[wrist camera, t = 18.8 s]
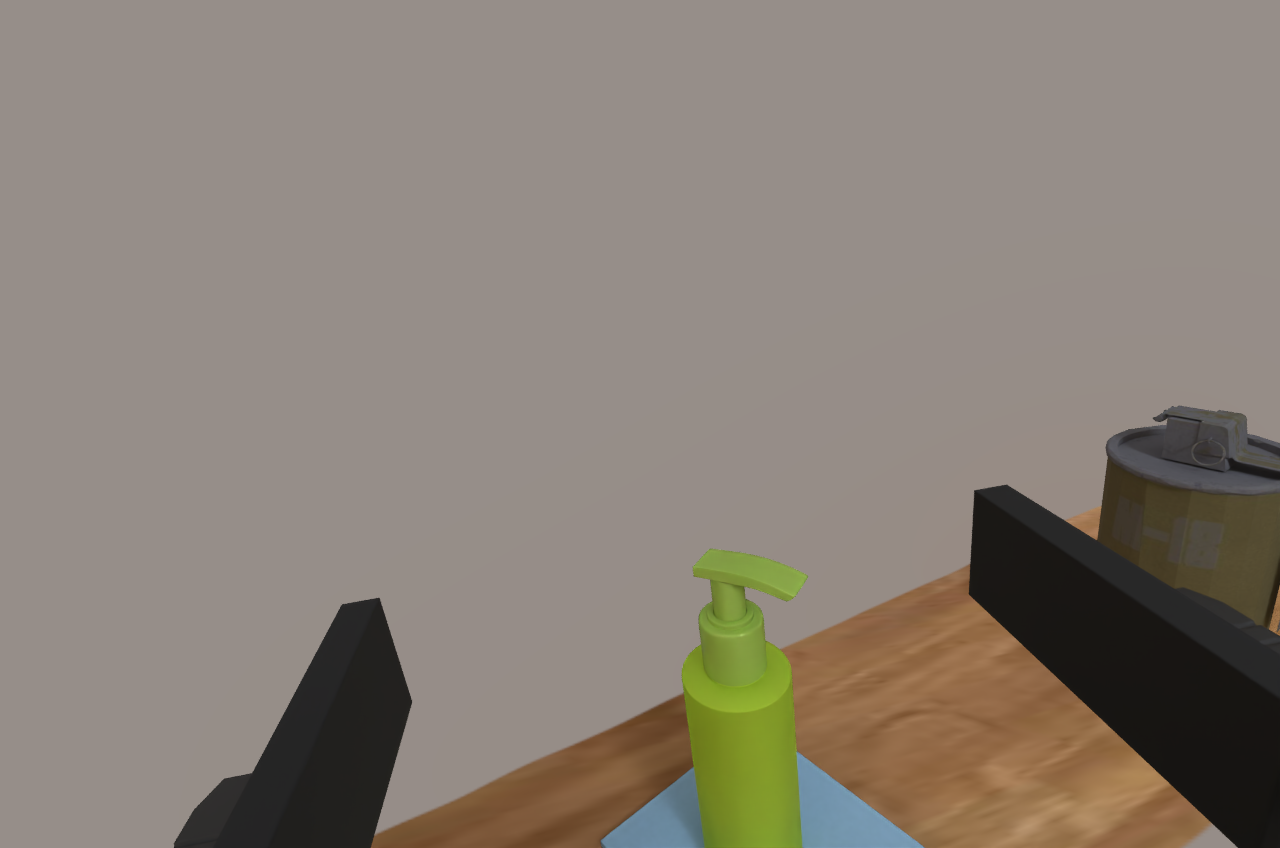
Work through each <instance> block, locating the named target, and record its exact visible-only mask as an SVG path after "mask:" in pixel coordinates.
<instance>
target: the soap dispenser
mask: <svg viewBox="0 0 1280 848" xmlns="http://www.w3.org/2000/svg"><path fill="white" fill-rule="evenodd" d="M693 574H694V577H699V578H705V579H710V582H711V592H712V602H710V603H708V604H707V605H706V606H705V607H704V608H703V609H702V610H701V612H700V614H699V630H700V638H701V645H699V646H698V647H696V648H695V649H694V650H693V651H692V652H691V653H690V654H689V655H688V657H687V658H686V660H685V662H684V664H683V668H682V682H683V690H684V697H685V705H686V712H687V720H688V727H689V735H690V742H691V749H692V757H693V764H694V772H695V779H696V787H697V794H698V802H699V809H700V816H701V824H702V831H703V839H704V846H705V848H802V832H801V816H800V799H799V783H798V767H797V751H796V734H795V718H794V702H793V686H792V671H791V666H790V663H789V661H788V659H787V657H786V656H785V655H784V653H783V652H782V651H781V650H780V649H779V648H777V647H776V646H775V645H773V644H771V643H770V642H767V641H765V631H764V618H763V614H762V611H761V609H760V608H759V607H758V606H757V605H756V604H755V603H753V602H751V601H749V600H747V599H745V589H744V587H748V588H752V589H756V590H759V591H762V592H765V593H767V594H770V595H772V596H775V597H777V598H779V599H782V600H784V601H789V600H791V599H793V598H794V597H795V596H796V595H797V593H798V592H799V590H800V589H801V587H802V586H803V584H804V583H805V581H806V580H807V578H808V576H807V575H806V574H804V573H802V572H800V571H798V570H796V569H794V568H791V567H789V566H787V565H784V564H781V563H779V562H776V561H773V560H770V559H767V558H763V557H759V556H755V555H751V554H746V553H740V552H732V551H725V550H717V549H709V550H708V551H707V552H706V553H705V554H704V555H703V556H702V558H701V559H700V560H699V561H698V562H697V563H696V564H695V565H694V566H693Z"/></svg>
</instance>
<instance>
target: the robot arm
mask: <svg viewBox="0 0 1280 848" xmlns="http://www.w3.org/2000/svg"><path fill="white" fill-rule="evenodd" d="M969 595H970V596H971V597H972V598H973V599H974V600H975V601H976V602H978V603H979V604H980V605H981V606H982V607H983V608H984V609H985V610H986V611H987V612H988V613H989V614H990V615H991V616H992V617H993V618H995V619H996V620H997V621H998V622H999V623H1000V624H1001V625H1002V626H1003V627H1004V628H1005V629H1006V630H1007V631H1008V632H1009V633H1010V634H1012V635H1013V636H1014V637H1015V638H1016V639H1017V640H1018V641H1019V642H1020V643H1021V644H1022V645H1023V646H1024V647H1025V648H1026V649H1027V650H1029V651H1030V652H1031V653H1032V654H1033V655H1034V656H1035V657H1036V658H1037V659H1038V660H1039V661H1040V662H1041V663H1042V664H1043V665H1044V666H1046V667H1047V668H1048V669H1049V670H1050V671H1051V672H1052V673H1053V674H1054V675H1055V676H1056V677H1057V678H1058V679H1059V680H1060V681H1061V682H1062V683H1064V684H1065V685H1066V686H1067V687H1068V688H1069V689H1070V690H1071V691H1072V692H1073V693H1074V694H1075V695H1076V696H1077V697H1078V698H1079V699H1081V700H1082V701H1083V702H1084V703H1085V704H1086V705H1087V706H1088V707H1089V708H1090V709H1091V710H1092V711H1093V712H1094V713H1095V714H1096V715H1098V716H1099V717H1100V718H1101V719H1102V720H1103V721H1104V722H1105V723H1106V724H1107V725H1108V726H1109V727H1110V728H1111V729H1112V730H1113V731H1115V732H1116V733H1117V734H1118V735H1119V736H1120V737H1121V738H1122V739H1123V740H1124V741H1125V742H1126V743H1127V744H1128V745H1129V746H1130V747H1132V748H1133V749H1134V750H1135V751H1136V752H1137V753H1138V754H1139V755H1140V756H1141V757H1142V758H1143V759H1144V760H1145V761H1146V762H1147V763H1149V764H1150V765H1151V766H1152V767H1153V768H1154V769H1155V770H1156V771H1157V772H1158V773H1159V774H1160V775H1161V776H1162V777H1163V778H1164V779H1166V780H1167V781H1168V782H1169V783H1170V784H1171V785H1172V786H1173V787H1174V788H1175V789H1176V790H1177V791H1178V792H1179V793H1180V794H1181V795H1183V796H1184V797H1185V798H1186V799H1187V800H1188V801H1189V802H1190V803H1191V804H1192V805H1193V806H1194V807H1195V808H1196V809H1197V810H1198V811H1199V812H1201V813H1202V814H1203V815H1204V816H1205V817H1206V818H1207V819H1208V820H1209V821H1210V822H1211V823H1212V824H1213V825H1214V826H1215V827H1216V828H1218V829H1219V830H1220V831H1221V832H1222V833H1223V834H1224V835H1225V836H1226V837H1227V838H1228V839H1229V840H1230V841H1231V842H1233V843H1234V844H1235V845H1236V846H1237V847H1238V848H1280V636H1279V635H1277V634H1275V633H1274V632H1272V631H1270V630H1269V629H1267V628H1265V627H1264V626H1262V625H1258V626H1257V625H1256V624H1255V622H1254V621H1253V620H1252V619H1250V618H1248V617H1247V616H1245V615H1243V614H1242V613H1240V612H1238V611H1237V610H1235V609H1233V608H1232V607H1230V606H1228V605H1227V604H1225V603H1223V602H1221V601H1219V600H1216V599H1213V598H1211V597H1208V596H1206V595H1203V594H1200V593H1198V592H1195V591H1192V590H1190V589H1187V588H1184V587H1182V588H1177V589H1174V588H1172V587H1171V586H1169V585H1168V584H1166V583H1164V582H1163V581H1161V580H1159V579H1158V578H1156V577H1155V576H1153V575H1151V574H1150V573H1148V572H1147V571H1145V570H1143V569H1142V568H1140V567H1138V566H1137V565H1135V564H1134V563H1132V562H1130V561H1129V560H1127V559H1126V558H1124V557H1122V556H1121V555H1119V554H1118V553H1116V552H1114V551H1113V550H1111V549H1109V548H1108V547H1106V546H1105V545H1103V544H1101V543H1100V542H1098V541H1097V540H1095V539H1093V538H1092V537H1090V536H1089V535H1087V534H1085V533H1084V532H1082V531H1080V530H1079V529H1077V528H1076V527H1074V526H1072V525H1071V524H1069V523H1068V522H1066V521H1064V520H1063V519H1061V518H1059V517H1058V516H1056V515H1054V514H1053V513H1051V512H1050V511H1048V510H1047V509H1045V508H1043V507H1042V506H1040V505H1039V504H1037V503H1035V502H1034V501H1032V500H1030V499H1029V498H1027V497H1026V496H1024V495H1022V494H1021V493H1019V492H1018V491H1016V490H1014V489H1013V488H1011V487H1009V486H1008V485H1002V486H997V487H991V488H986V489H980V490H975V491H974V508H973V527H972V545H971V563H970V582H969ZM411 704H412V700H411V696H410V693H409V690H408V687H407V684H406V681H405V677H404V674H403V671H402V668H401V665H400V662H399V658H398V655H397V652H396V649H395V646H394V643H393V639H392V636H391V633H390V630H389V627H388V624H387V620H386V617H385V614H384V611H383V608H382V605H381V602H380V598H376V599H370V600H364V601H359V602H353V603H348V604H342V606H341V607H340V609H339V611H338V613H337V615H336V617H335V619H334V620H333V622H332V624H331V626H330V628H329V630H328V632H327V634H326V635H325V637H324V639H323V641H322V643H321V645H320V647H319V649H318V651H317V652H316V654H315V656H314V658H313V660H312V662H311V664H310V666H309V667H308V669H307V671H306V673H305V675H304V677H303V679H302V681H301V683H300V684H299V686H298V688H297V690H296V692H295V694H294V696H293V698H292V699H291V701H290V703H289V705H288V707H287V709H286V711H285V713H284V715H283V717H282V718H281V720H280V722H279V724H278V726H277V728H276V730H275V732H274V733H273V735H272V737H271V739H270V741H269V743H268V745H267V747H266V748H265V750H264V752H263V754H262V756H261V758H260V760H259V762H258V764H257V765H256V767H255V769H254V771H253V773H251V774H246V775H241V776H236V777H231V778H226V779H224V780H223V781H222V782H221V783H220V784H219V785H218V786H217V787H216V788H215V789H214V790H213V791H212V792H211V793H210V794H209V795H208V796H207V797H206V798H205V799H204V800H203V801H202V802H201V803H200V804H199V805H198V806H197V808H195V809H194V811H193V812H192V814H191V816H190V818H189V819H188V821H187V822H186V824H185V826H184V828H183V829H182V831H181V833H180V834H179V836H178V838H177V839H176V841H175V843H174V848H371V844H372V841H373V837H374V834H375V830H376V827H377V823H378V820H379V816H380V813H381V809H382V806H383V802H384V799H385V795H386V792H387V788H388V784H389V781H390V778H391V774H392V771H393V767H394V764H395V760H396V757H397V753H398V750H399V746H400V743H401V739H402V736H403V732H404V729H405V725H406V721H407V718H408V714H409V711H410V708H411Z"/></svg>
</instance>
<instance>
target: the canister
mask: <svg viewBox="0 0 1280 848" xmlns="http://www.w3.org/2000/svg"><path fill="white" fill-rule="evenodd" d="M1167 418H1168V420H1167V425H1160V426H1152V427H1144V428H1137V429H1129V430H1126V431H1124V432H1121V433H1119V434H1116V435H1114V436H1113V437H1112V438H1110V439H1109V440H1108V441H1107V444H1106V453H1107V456H1108V460H1107V468H1106V476H1105V484H1104V492H1103V500H1102V508H1101V516H1100V524H1099V532H1098V540H1097V541H1098V542H1100V543H1101V544H1103V545H1105V546H1106V547H1108V548H1109V549H1111V550H1113V551H1114V552H1116V553H1118V554H1119V555H1121V556H1122V557H1124V558H1126V559H1127V560H1129V561H1130V562H1132V563H1134V564H1135V565H1137V566H1138V567H1140V568H1142V569H1143V570H1145V571H1147V572H1148V573H1150V574H1151V575H1153V576H1155V577H1156V578H1158V579H1159V580H1161V581H1163V582H1164V583H1166V584H1168V585H1169V586H1171V587H1172V588H1174V589H1177V588H1182V587H1184V588H1187V589H1190V590H1192V591H1195V592H1198V593H1200V594H1203V595H1206V596H1208V597H1211V598H1213V599H1216V600H1219V601H1221V602H1223V603H1225V604H1227V605H1228V606H1230V607H1232V608H1233V609H1235V610H1237V611H1238V612H1240V613H1242V614H1243V615H1245V616H1247V617H1248V618H1250V619H1252V620H1253V621H1254V622H1255V624H1256V625H1257V626H1258V625H1262V626H1264V627H1265V628H1267V629H1269V627H1270V623H1271V618H1272V614H1273V610H1274V606H1275V602H1276V598H1277V594H1278V590H1279V585H1280V443H1277V442H1274V441H1271V440H1268V439H1264V438H1261V437H1258V436H1255V435H1250V434H1247V418H1246V416H1245V415H1243V414H1241V413H1234V412H1228V411H1221V410H1219V411H1217V412H1215V411H1209V410H1203V409H1197V408H1190V407H1184V406H1178V407H1173V406H1172V407H1171V408H1169V409H1168V410H1164V412H1163V413H1161V414H1160V415H1158V416H1157V417H1154V418H1153V419H1154V420H1155V421H1158V422H1161V421H1164V420H1165V419H1167ZM1279 629H1280V621H1279V625H1278V629H1277V632H1278V630H1279Z"/></svg>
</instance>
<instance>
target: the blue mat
mask: <svg viewBox="0 0 1280 848" xmlns="http://www.w3.org/2000/svg"><path fill="white" fill-rule="evenodd" d="M797 767H798V783H799V799H800V816H801V832H802V848H925V847H923V846H922V845H921V844H919V843H918V842H917V841H915V840H914V839H913V838H911V837H910V836H909V835H907V834H906V833H905V832H903V831H902V830H901V829H899V828H898V827H897V826H895V825H894V824H893V823H891V822H890V821H889V820H887V819H886V818H885V817H883V816H882V815H881V814H879V813H878V812H877V811H875V810H874V809H873V808H871V807H870V806H869V805H867V804H866V803H865V802H863V801H862V800H861V799H859V798H858V797H857V796H855V795H854V794H853V793H852V792H850V791H849V790H848V789H846V788H845V787H844V786H842V785H841V784H840V783H838V782H837V781H836V780H834V779H833V778H832V777H830V776H829V775H828V774H826V773H825V772H824V771H822V770H821V769H820V768H818V767H817V766H816V765H814V764H813V763H812V762H810V761H809V760H808V759H806V758H805V757H804V756H802V755H801V754H800V753H798V752H797ZM601 846H602V848H705V846H704V839H703V831H702V824H701V816H700V809H699V802H698V794H697V787H696V779H695V772H694V767H693V768H692V769H690V770H689V771H688V772H687V773H685V774H684V775H683V776H682V777H680V778H679V779H678V780H676V781H675V782H674V783H673V784H671V785H670V786H669V787H668V788H666V789H665V790H664V791H663V792H661V793H660V794H659V795H657V796H656V797H655V798H654V799H652V800H651V801H650V802H649V803H647V804H646V805H645V806H644V807H642V808H641V809H640V810H638V811H637V812H636V813H635V814H633V815H632V816H631V817H630V818H628V819H627V820H626V821H625V822H623V823H622V824H621V825H620V826H618V827H617V828H616V829H614V830H613V831H612V832H611V833H609V834H608V835H607V836H606V837H604V838H603V839H602V840H601Z"/></svg>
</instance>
